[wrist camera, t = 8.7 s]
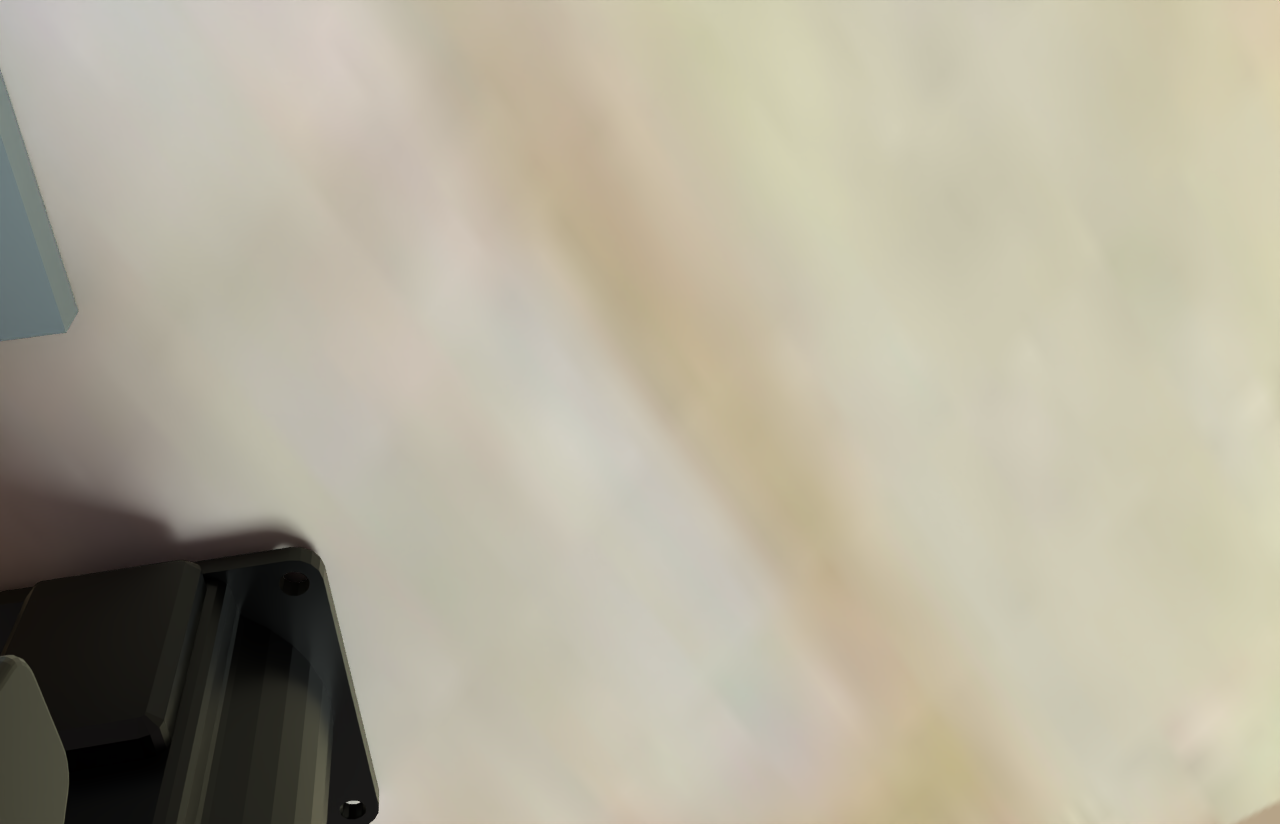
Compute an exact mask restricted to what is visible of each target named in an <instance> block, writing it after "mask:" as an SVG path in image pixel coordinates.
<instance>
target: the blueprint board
mask: <svg viewBox="0 0 1280 824" xmlns="http://www.w3.org/2000/svg"><path fill="white" fill-rule="evenodd" d="M77 313H78V308H77V305H76V302H75V299H74V296H73V293H72V290H71V287H70V284H69V280H68V277H67V274H66V271H65V268H64V265H63V262H62V259H61V256H60V253H59V249H58V246H57V243H56V240H55V237H54V234H53V231H52V228H51V225H50V222H49V219H48V215H47V212H46V209H45V206H44V203H43V200H42V197H41V194H40V191H39V188H38V184H37V181H36V178H35V175H34V172H33V169H32V166H31V163H30V160H29V157H28V153H27V150H26V147H25V144H24V141H23V138H22V135H21V132H20V129H19V126H18V123H17V119H16V116H15V113H14V110H13V107H12V104H11V101H10V98H9V95H8V92H7V88H6V85H5V82H4V79H3V76H2V73H1V70H0V341H6V340H13V339H21V338H29V337H36V336H44V335H52V334H59V333H66V332H67V330H68V328H69V327H70V325H71V323H72V321H73V320H74V318H75V316H76V315H77Z"/></svg>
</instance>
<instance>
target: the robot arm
mask: <svg viewBox="0 0 1280 824" xmlns="http://www.w3.org/2000/svg"><path fill="white" fill-rule="evenodd" d="M290 572H300V573H301V574H303V575H305V576H306V577H307V579H306V580H304V581H301V582H290V581H288V580H286V579H285V578H284V577H283V575H285V574H287V573H290ZM348 801H360V803H358V804H348V803H345V802H348ZM378 811H379V788H378V784H377V780H376V776H375V772H374V768H373V763H372V759H371V755H370V751H369V747H368V743H367V739H366V734H365V730H364V726H363V722H362V718H361V714H360V710H359V705H358V701H357V697H356V693H355V689H354V685H353V681H352V676H351V672H350V668H349V664H348V660H347V656H346V652H345V648H344V643H343V639H342V635H341V631H340V627H339V623H338V619H337V614H336V610H335V606H334V602H333V598H332V594H331V590H330V585H329V581H328V577H327V573H326V569H325V565H324V563H323V562H322V560H321V558H320V557H319V556H318V555H317V554H315V553H314V552H313V551H311V550H308V549H305V548H302V547H289V548H283V549H276V550H270V551H263V552H257V553H250V554H244V555H237V556H231V557H224V558H218V559H211V560H204V561H198V562H189V561H185V560H178V561H171V562H165V563H158V564H152V565H145V566H138V567H132V568H125V569H119V570H112V571H106V572H99V573H93V574H86V575H80V576H73V577H67V578H60V579H54V580H47V581H42V582H39V583H37V584H36V585H35V586H34V587H28V588H22V589H15V590H9V591H2V592H0V824H369V823H370V822H372V821H373V820H374V819H375V818H376V816H377V814H378Z"/></svg>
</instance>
